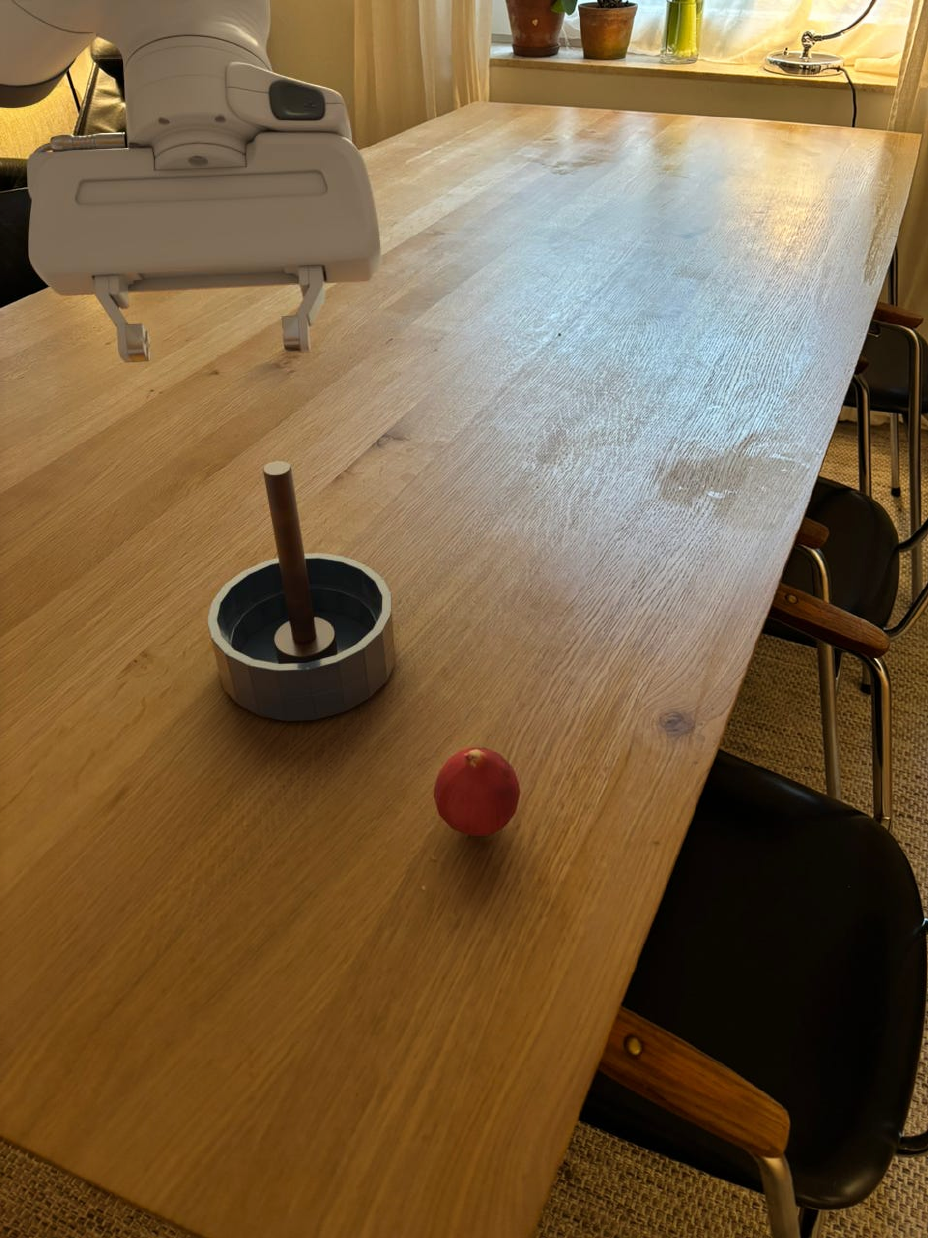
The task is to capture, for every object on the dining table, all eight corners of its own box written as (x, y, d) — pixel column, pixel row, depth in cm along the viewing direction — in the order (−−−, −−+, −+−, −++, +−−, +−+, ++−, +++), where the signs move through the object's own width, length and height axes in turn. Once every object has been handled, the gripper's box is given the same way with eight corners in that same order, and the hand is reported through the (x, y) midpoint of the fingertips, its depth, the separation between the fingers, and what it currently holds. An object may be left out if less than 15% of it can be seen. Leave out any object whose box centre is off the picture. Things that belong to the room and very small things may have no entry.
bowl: (239, 747, 76) (225, 691, 72) (207, 630, 87) (194, 576, 83) (419, 697, 80) (415, 641, 76) (368, 591, 90) (362, 537, 86)
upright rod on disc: (285, 684, 80) (249, 492, 68) (272, 646, 84) (235, 457, 72) (344, 668, 82) (319, 477, 70) (329, 631, 85) (302, 444, 73)
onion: (463, 782, 73) (461, 706, 68) (533, 813, 71) (536, 737, 65) (421, 838, 69) (415, 762, 64) (492, 873, 67) (492, 797, 62)
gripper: (4, 105, 56) (14, 344, 54) (370, 92, 57) (387, 325, 56) (44, 166, 62) (54, 382, 61) (373, 153, 63) (388, 364, 62)
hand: (216, 354), depth 58 cm, fingers open, 8 cm apart
